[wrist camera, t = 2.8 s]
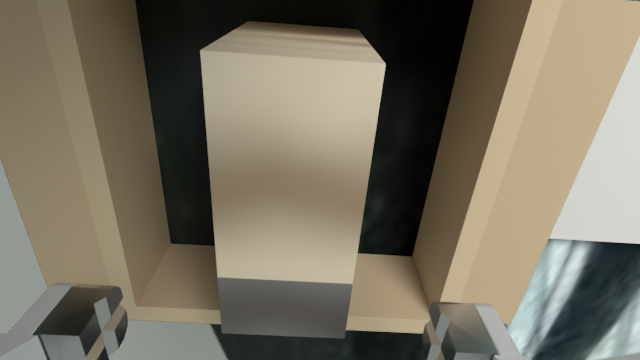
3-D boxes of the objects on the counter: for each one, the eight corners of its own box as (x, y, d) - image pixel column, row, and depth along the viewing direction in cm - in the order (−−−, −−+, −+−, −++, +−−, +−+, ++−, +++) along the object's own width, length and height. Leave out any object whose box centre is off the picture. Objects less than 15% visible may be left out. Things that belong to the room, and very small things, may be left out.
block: (248, 20, 17) (200, 50, 10) (357, 29, 17) (385, 64, 10) (252, 220, 22) (221, 333, 15) (336, 225, 22) (344, 338, 15)
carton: (25, -76, 15) (-94, -98, 11) (574, -30, 16) (670, -33, 12) (107, 252, 23) (58, 316, 19) (470, 271, 24) (504, 337, 20)
